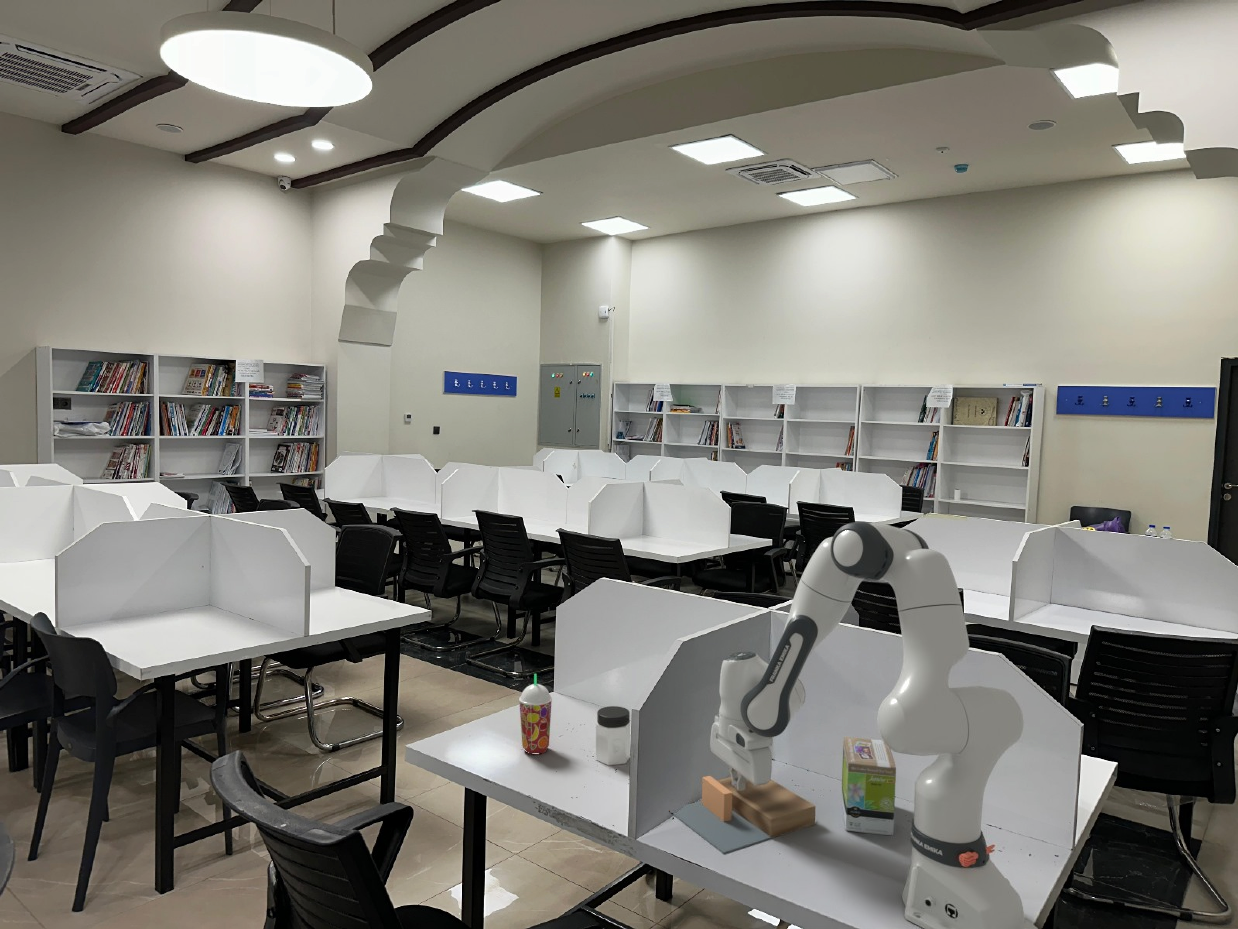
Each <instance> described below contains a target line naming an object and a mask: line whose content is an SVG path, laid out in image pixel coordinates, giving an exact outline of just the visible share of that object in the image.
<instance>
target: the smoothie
mask: <svg viewBox="0 0 1238 929" xmlns="http://www.w3.org/2000/svg"><path fill="white" fill-rule="evenodd" d="M533 675H534V676H533V678H534V679H533V683H532V684H530V685H528V686H526V687H525V688H524V689H523V691H522V692H521V695H520V696H519V698H518V701H519V714H520V727H521V728H520V730H521V742H522V743H521V744H522V748H523V749H525V750H526V751H527V752H529V753H542V754H544V753H545V751H546V750H547V751H548V748H549V746H550V735H551V734H550V733H551V718H552V702H553V701H552V700H553V697H552V695H551V694H550V691H549V690H548V688H547V687H546V686H544V685H542V684H539V683H537V681H538V680H537V679H538V678H537V677H538V676H537V673H533ZM525 750H524V751H525ZM547 751H546V752H547Z"/></svg>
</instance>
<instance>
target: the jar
mask: <svg viewBox="0 0 1238 929" xmlns="http://www.w3.org/2000/svg"><path fill="white" fill-rule="evenodd" d="M596 715H597V716H596V717H597V718H596V720H597V722H596V723H595V760H596V761H598V762H600V763H602V764H605V765H606V766H613V765H614V766H615V765H623V764H624V765H625V764H626V763H627V762H628V761H629V760H630V758H631V756H630V721H631V720H630V719H631V718H630V710H629V709H628V708H625V707H623V706H619V705H618V706H617V705H615V706H614V705H612V706H611V705H610V706H605V707H602V708H601V707H600V708H599V709H598V710H597V712H596Z"/></svg>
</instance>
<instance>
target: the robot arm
mask: <svg viewBox="0 0 1238 929" xmlns="http://www.w3.org/2000/svg"><path fill="white" fill-rule="evenodd" d="M864 580H870V581H874V582H878V583H880V582H881V583H888V584H889V585H890V586H891V587H892V589H893V592H894V594H895V598H896V600H895V601H896V604H897V611H898V612H897V613H898V617H899V618H898V619H899V624H900V630H901V633H900V634H901V639H902V650H903V651H902V652H903V653H902V654H903V655H902V656H903V658H902V659H903V660H902V667H901V672H900V675H899V677H898V680H897V681H896V684H895V685H894V687H893V689H892V690H891V691H890V693H889V694H888V695H887V696H886V697H885V698H884V699H883V700H882V702H881V704H880V706H879V709H878V712H877V715H876V716H877V719H876V722H877V728H878V732H879V734H880V737H881V739H882V740H884V742H885V743H886V744H887V746H888V747H889V748H890V749H891V751H893V752H894V753H897V754H903V755H904V754H905V755H909V756H911V755H912V756H918V757H926V756H937V755H938V756H937V757H936V759H935V760H934V761H933V762H932V763H931V764H930V765H928V766H927V767H926V768H924V769H923V770H922V771H921V772H920V773H919V774H918V776H917V777H916V780H915V782H914V800H913V801H914V806H913V810H914V811H913V817H912V820H911V824H910V843H911V846H912V848H911V858H910V864H909V870H908V874H907V878H906V882H905V885H904V888H903V890H902V892H901V893H902V894H901V898H902V901H903V905H904V907H905V908H904V918H905V919H906V920H907V921H909V922H911V923H913V924H914V925H917V926H918V927H921V928H922V929H1039V928H1038V927H1037V926H1036V925H1035V924H1033V923H1032V922H1031V921H1029V920H1027V918H1025V915H1024V914H1025V913H1024V911H1025V910H1024V906H1023V902H1022V898H1021V896H1020V894H1019V893H1018V892H1017V890H1016V889H1015V888H1014V887H1013V886H1012V885H1011V882H1010V880H1009V879H1008V878H1006V877H1005V876H1004V874H1002V872H1001V871H1000V870H999V868H998V867H997V866H996V865H995V863H994V862H993V861H992V859H991V858H990V857H991V856H990V854H991V853H993V852H995V849H994V848H995V846H996V845H995V844H991V845H989V846H987V842H986V838H985V836H984V832H983V831H982V817H983V816H982V814H983V804H984V795H985V790H986V786H987V783H988V781H989V778H990V776H991V775H992V772H993V770H994V768H995V766H996V764H997V763H998V762H999V761H1000V759H1001V758H1002V756H1003V755H1004V754H1005V752H1006V751H1007V750H1009V749H1010V748H1011V747H1012V746H1013V745H1015V744H1016V743H1017V742H1018V741H1019V740H1020V738H1021V736H1022V734H1023V730H1024V726H1025V724H1024V723H1025V722H1024V720H1025V719H1024V714H1023V710H1022V708H1021V706H1020V704H1019V703H1018V701H1017V699H1016V698H1015V697H1014V696H1013V695H1012V694H1011V693H1010V692H1008V691H1007V690H1004V689H1002V688H1001V689H1000V688H995V687H988V686H981V685H975V686H973V685H972V686H961V687H960V686H959V687H958V686H957V687H949V678H950V674H951V670H952V668H953V667H954V666H955V665H957V664H958V663H960V662H961V661H962V660H963V659H965V657H966V655H967V653H968V652H969V649H970V640H969V635H968V631H967V625H966V620H965V619H966V618H965V614H964V610H963V604H962V601H961V595H960V592H959V589H958V584H957V581H956V578H955V576H954V573H953V570H952V568H951V565H950V562H949V561H948V559H947V558H946V556H945V555H944V554H942V553H941V552H940V551H937V550H933V549H930V548H929V545H928V544H927V542H926V541H925V539H924V538H923V537H922V536H920V535H919V534H917V533H916V532H914V531H913V530H909V529H906V528H900V527H895V526H892V525H890V524H886V523H880V522H878V523H877V522H872V523H871V522H865V521H854V522H849V523H847V524H844V525H842V526H841V527H840V528H838V529H837V530H836V532H835V533H834V535H833V536H831V537H827V538H825V539H824V540H823V541H821V543H819V545H818V546H817V548H816V549H815V552H813V553H812V555H811V557H810V559H809V561H808V563H807V565H806V567H805V568H804V571H803V573H802V575H801V577H800V580H799V582H798V584H797V587H796V589H795V593H794V596H793V598H792V603H791V606H790V609H789V613H788V616H787V619H786V622H785V625H784V629H783V632H782V635H781V636H780V637H781V638H780V640H779V641H778V643H777V646H776V648H775V651H774V653H773V654H772V657H771V658H770V660H769V663H767V661H764V659H762V658H761V657H760V656H759V655H758V653H755V652H752V651H739V652H735V653H731V654H729V655H728V656H726V657H725V658H724V659H723V660H722V662H721V668H720V674H719V676H720V677H719V691H718V692H719V696H720V701H721V702H720V706H719V709H718V713H717V714H716V715H715V716H714V722H713V723H712V725H711V729H710V730H711V731H710V738H709V747H710V750H711V752H712V754H714V755H715V756H717V757H718V758H719V759H721V760H722V761H723V762H724V763H725V764H727V765H728V769H729V770H728V771H729V773H730V777H731V778H732V785H733V786H734V787H735V788H737V789H738V790H739V791H742V790H745V788H746V781H747V780H749V781H750V782H751V783H752V784H754V785H755V786H759V785H764V784H768V783H769V781H770V780H772V767H773V765H772V764H773V762H772V761H773V757H772V756H773V755H772V750H771V749H770V746H771V747H772V746H773V743H774V739H773V738H775V737H777V736H780V735H781V734H783V733H784V731H785V730H786V728H787V727H788V725H789V723H790V722H791V721H792V719H793V718H794V717H795V716H796V714H798V712H800V709H801V708H802V707H803V705H804V703H805V702H806V701H805V700H806V690H805V687H804V684H803V683H802V681H801V680H800V679H799V677H800V676H801V673H802V672H803V669H804V667H805V665H806V663H807V660H808V659H809V658H810V656H811V654H812V653H813V652H814V651H815V649H817V647H818V646H819V645H820V644H821V643H822V642H823V641H824V640H825V639H826V638H827V637H828V636H829V635H831V633H832V632H833V631H834V630H835V629H836V628H837V626H838V625H839V624H840V622H842V620H843V618H844V616H845V615H846V613H847V612H848V610H849V607H851V604H852V601H853V599H854V598H855V594H856V592H857V591H858V589H859V585H860V584H861V583H862V582H863V581H864Z"/></svg>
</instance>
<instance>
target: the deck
mask: <svg viewBox="0 0 1238 929" xmlns="http://www.w3.org/2000/svg"><path fill="white" fill-rule="evenodd" d="M716 781H718V782H719V783H720V784H722V785H723V786H724V787H726V788H727V789H728V790H729V791H731V792H732V811H734V812H735V813H737V814H738V815H739V816H741V817H742V818H744V819H745V820H747V821H748V822H750V823H751V824H753V825H754V826H755V827H757V828H758V829H760V830H761V831H763V832H764V833H766V834H767V835H769V836H770V837H771V839H774V838H777V837H780V836H783V835H786V834H790V833H792V832H795V831H799V830H802V829H805V828H808V827H810V826H811V827H812V826H814V825H816V805H815V804H813V803H812V802H809V801H808V800H806V799H804V798H803V797H801V796H800V795H798V794H796V793H794V792H793V791H791V790H790V789H788V788H786V787H784V786H783V785H781V784H779V783H777V782H776V781H775V780H773V779H771V780H770V781H769V783H768V784H764V785H759V786H755V785H754V784H752V783H751V782H750V781H749V780H747V781H746V788H745V790H742V791H739V790H738V789H737V788H735V787H734V786H733V785H732V778H731V776H729V777H725V778H722V779H718V780H716Z"/></svg>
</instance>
